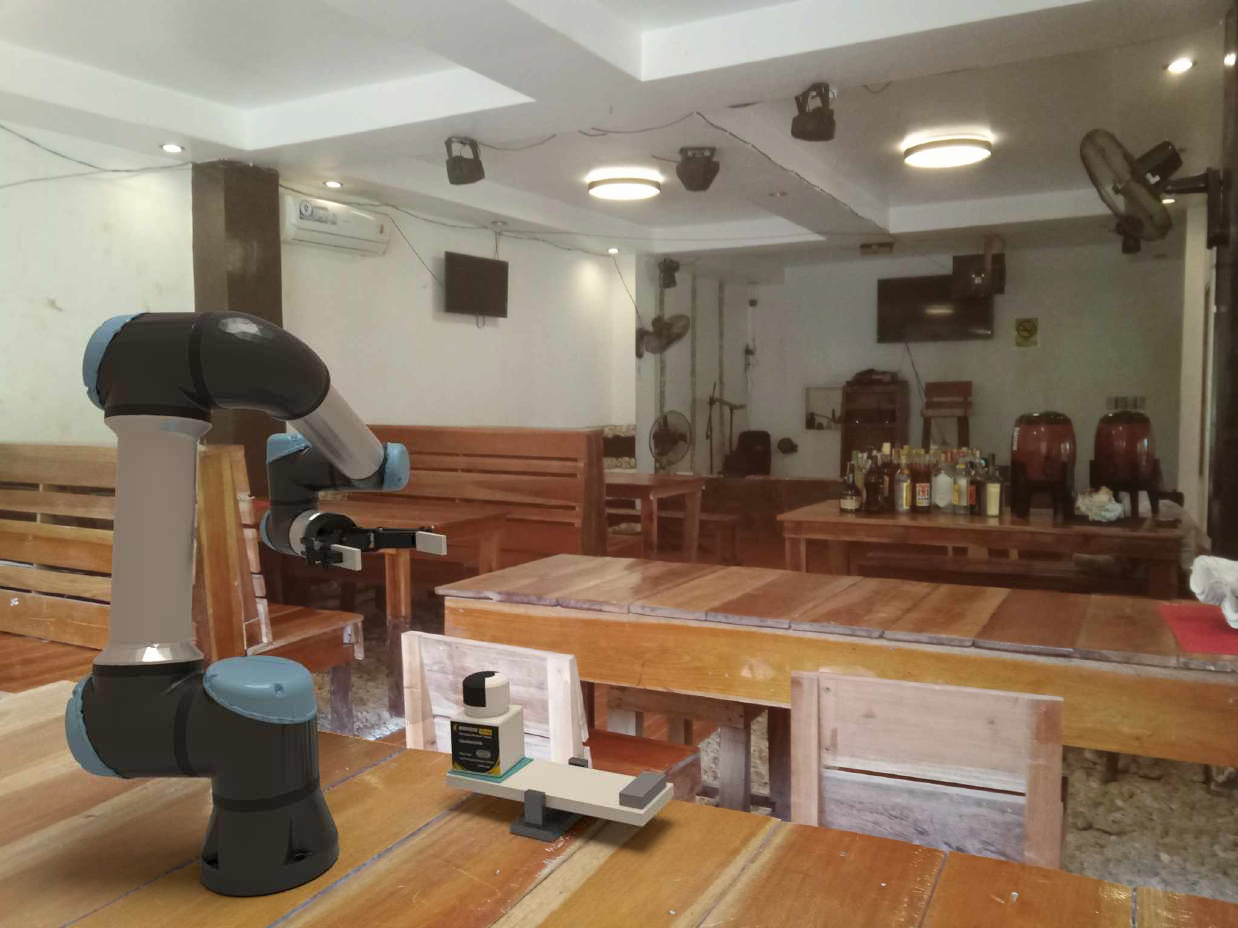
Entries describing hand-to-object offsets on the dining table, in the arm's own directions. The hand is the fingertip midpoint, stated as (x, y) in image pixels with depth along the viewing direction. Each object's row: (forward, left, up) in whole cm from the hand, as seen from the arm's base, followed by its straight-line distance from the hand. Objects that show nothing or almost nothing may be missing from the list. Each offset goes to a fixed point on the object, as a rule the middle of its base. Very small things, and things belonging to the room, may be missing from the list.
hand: (403, 552), depth 130 cm
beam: (-13, -21, -29) cm, 38 cm away
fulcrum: (-13, -21, -32) cm, 40 cm away
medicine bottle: (-8, -12, -27) cm, 31 cm away
